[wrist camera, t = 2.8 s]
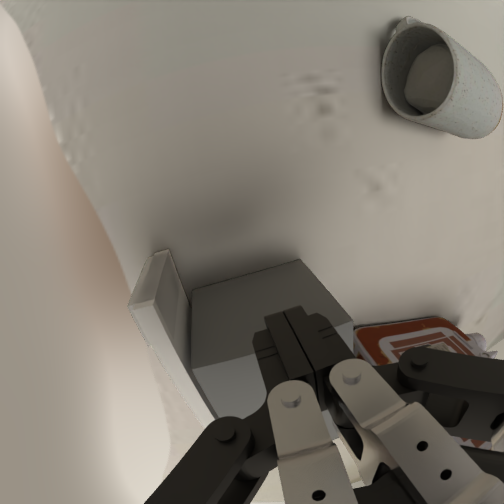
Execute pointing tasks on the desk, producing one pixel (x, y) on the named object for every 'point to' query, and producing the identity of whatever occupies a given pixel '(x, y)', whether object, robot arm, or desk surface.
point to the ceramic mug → (439, 82)
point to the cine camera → (418, 335)
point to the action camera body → (251, 332)
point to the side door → (169, 329)
